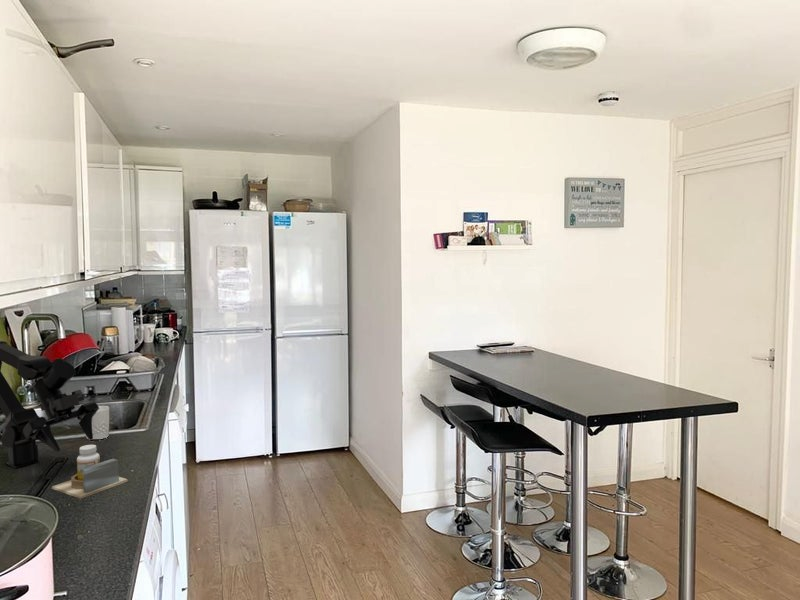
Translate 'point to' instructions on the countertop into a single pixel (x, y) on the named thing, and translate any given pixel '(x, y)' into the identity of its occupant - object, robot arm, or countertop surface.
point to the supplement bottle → (87, 458)
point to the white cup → (100, 423)
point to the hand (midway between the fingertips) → (75, 445)
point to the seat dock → (93, 480)
